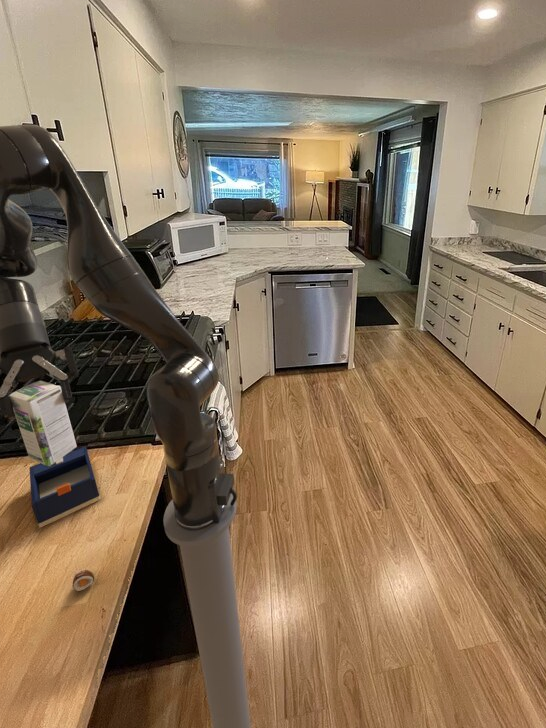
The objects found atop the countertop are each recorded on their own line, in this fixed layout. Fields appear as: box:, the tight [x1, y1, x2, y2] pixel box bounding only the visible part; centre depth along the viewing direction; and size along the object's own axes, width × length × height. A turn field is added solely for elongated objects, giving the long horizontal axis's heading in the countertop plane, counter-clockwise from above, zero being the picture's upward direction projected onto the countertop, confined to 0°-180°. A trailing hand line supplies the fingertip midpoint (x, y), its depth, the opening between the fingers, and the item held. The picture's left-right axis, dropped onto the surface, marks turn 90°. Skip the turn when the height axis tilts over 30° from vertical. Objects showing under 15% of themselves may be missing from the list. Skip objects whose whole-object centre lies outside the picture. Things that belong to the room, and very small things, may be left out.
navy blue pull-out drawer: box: [28, 445, 101, 529], centre depth 73 cm, size 12×10×7 cm
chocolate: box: [71, 568, 96, 592], centre depth 57 cm, size 3×2×4 cm
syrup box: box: [9, 380, 78, 466], centre depth 67 cm, size 6×6×14 cm
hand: (40, 409), depth 65 cm, fingers closed on syrup box, 7 cm apart
